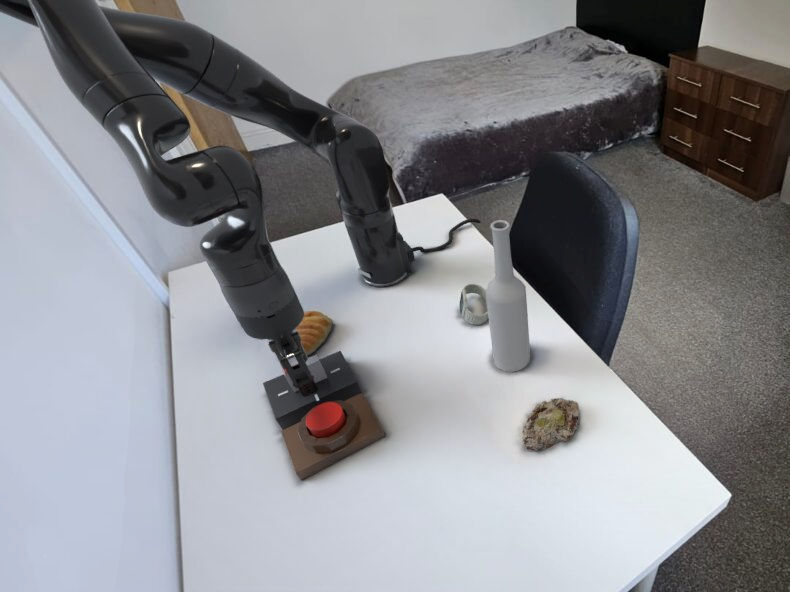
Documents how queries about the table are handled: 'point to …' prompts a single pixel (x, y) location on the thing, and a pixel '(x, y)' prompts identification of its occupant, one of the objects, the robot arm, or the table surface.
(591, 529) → the table surface
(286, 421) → the panel
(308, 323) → the pastry
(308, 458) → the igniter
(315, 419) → the button
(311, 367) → the grey block red tab
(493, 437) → the table surface
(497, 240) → the bottle
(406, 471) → the table surface
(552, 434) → the mineral rock
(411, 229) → the table surface
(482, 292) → the wristwatch
